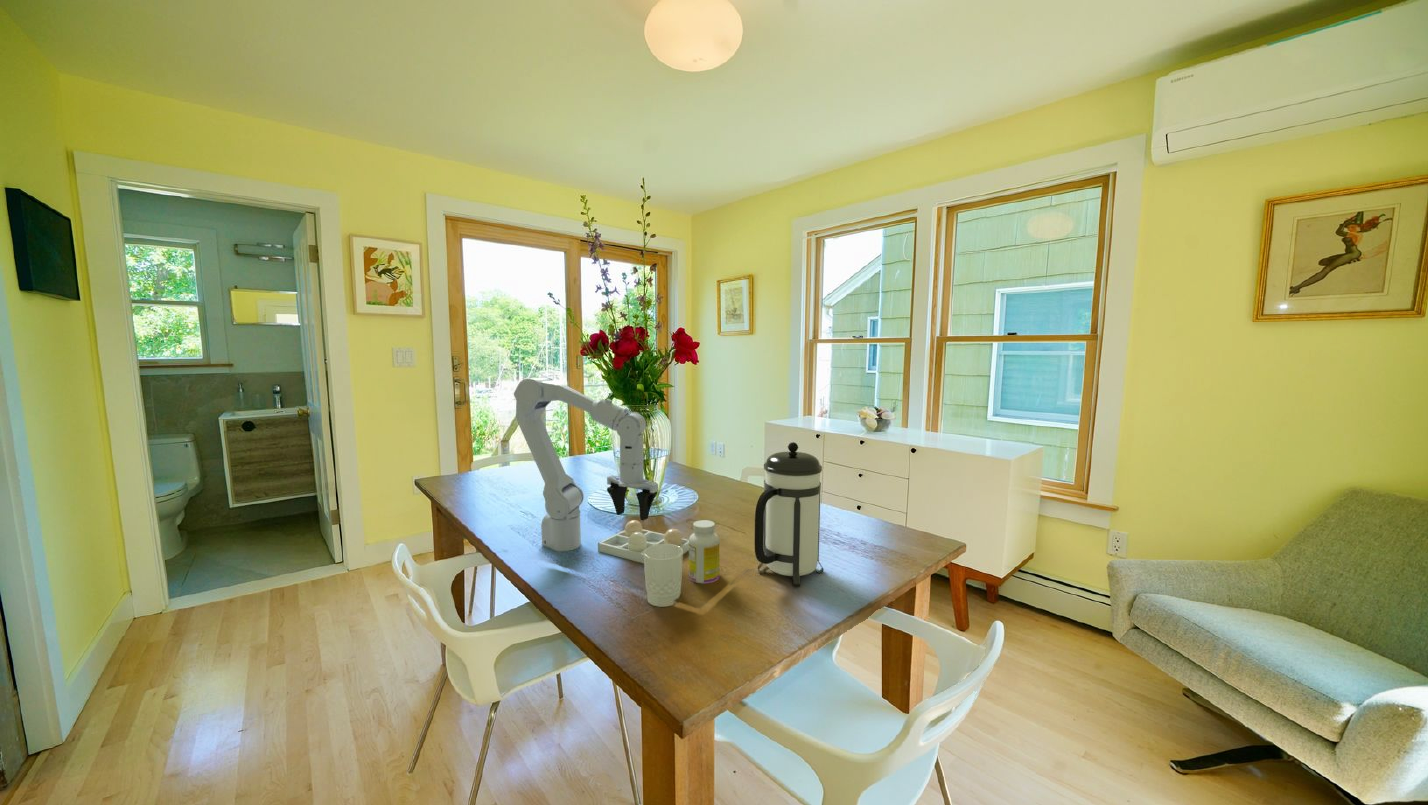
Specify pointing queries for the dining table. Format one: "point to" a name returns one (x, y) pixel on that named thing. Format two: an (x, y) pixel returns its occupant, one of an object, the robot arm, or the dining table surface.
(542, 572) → the dining table surface
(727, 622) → the dining table surface
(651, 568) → the white cup
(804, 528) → the coffee press
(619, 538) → the egg carton
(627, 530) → the brown egg back left
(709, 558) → the supplement bottle
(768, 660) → the dining table surface
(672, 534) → the brown egg back right
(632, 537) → the cream egg
